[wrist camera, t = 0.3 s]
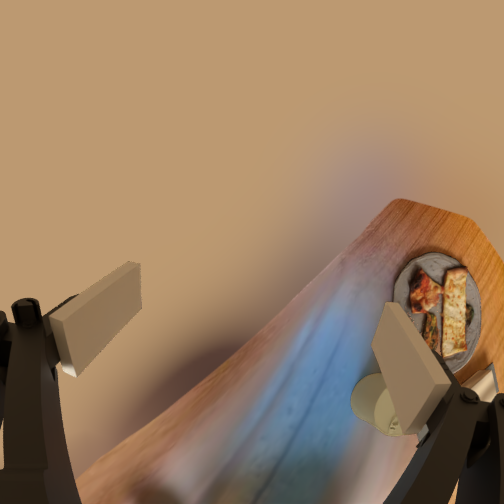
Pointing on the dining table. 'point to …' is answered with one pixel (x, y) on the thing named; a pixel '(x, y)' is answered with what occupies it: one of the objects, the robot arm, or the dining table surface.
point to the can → (375, 405)
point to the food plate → (442, 305)
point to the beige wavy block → (482, 385)
